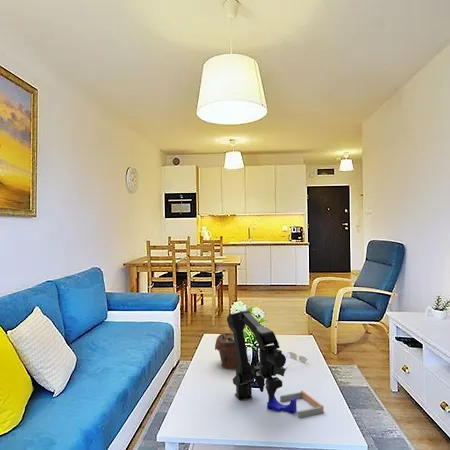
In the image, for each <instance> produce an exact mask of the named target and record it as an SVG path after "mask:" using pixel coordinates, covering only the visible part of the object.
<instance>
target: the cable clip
mask: <svg viewBox="0 0 450 450" xmlns="http://www.w3.org/2000/svg"><path fill="white" fill-rule="evenodd" d="M266 409H267V410H268V411H269V410H270V411H274V412H278V413H280V412H285V413H286V412H287V413H290V414H296V412H298V411H297V399H296V397H293V398H292V399H291V400H290V403H289V404H282V402H281V403H280V401H278V400H277V397H276V396H275V395H274V398H273V400H272V401H270V399H269V396H268V400H267V402H266Z"/></svg>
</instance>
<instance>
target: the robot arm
mask: <svg viewBox="0 0 450 450" xmlns="http://www.w3.org/2000/svg"><path fill="white" fill-rule="evenodd" d="M226 322H227V324H228V328H229V330H230V331H232V334H233V335H234V341H235V347H236V353H237V359H238V365H237V368H236V369H235V376H234V377H233V378H232V383H233V385H234V386H235V391H236V392H235V393H234V395H235V397H236V398H237V399H238V400H239V401H243V400H248V399H252V398H253V394H252V393H253V389H252V384H254V382H255V383H256V384H257V387H258V389H259V392H260V393H263V392H264V388H265V389H266V391H267V395H268V396H269V399H270V401H272V400H273V398H274V395H275V394H276V392H277V390H278V389H280V388H282V387H283V381H282V380H281V379H280V378H279V377H277V376H281V377H284V376H285V373H286V370H287V369H285V368H286V367H284V366H285V365H286V363H287V358H286V355H285V354H284V353H283V351H282V350H281V349H280V347H281V346H280V345H279V341H278V339H277V336H276V334H275V332H274V331H273V330H271V328H268V327H266V326H263V325H262V324H261V323H260V322H259V321H258V320H257V319H256V318H255V316H254V315H252V313H251V312H250V310H247V309H246V310H239V312H233V313H229V314H228V315H227V317H226ZM246 326H247V328H249V330H250V331H251V332H252V333H253V334H254V340H255V341H256V342H257V344H258V345H256V348H257V349H259V360H258V361H257V365H256V366H255V365H251V363H250V362H249V358H248V352H247V351H248V350H247V351H246V345H245V339H244V336H245V335H244V330H245V327H246Z"/></svg>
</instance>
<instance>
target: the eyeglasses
mask: <svg viewBox="0 0 450 450" xmlns="http://www.w3.org/2000/svg"><path fill="white" fill-rule="evenodd" d="M286 354H289V357H290V358H291V359H294V360H297V357H298V360H299V361H297V362H296V363H304V364H306V363H307V361H308V358H307V357H305V356H303V355H298V354H296V353H295V352H293V351H288V352H286ZM293 364H295V362H293V363H290V364H289V365H288V366H286V367H284V368H285V369H286V370H287V369H288V368H289V367H290V366H291V365H293Z"/></svg>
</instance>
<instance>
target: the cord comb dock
mask: <svg viewBox="0 0 450 450" xmlns="http://www.w3.org/2000/svg"><path fill="white" fill-rule="evenodd" d="M293 397H296V400H298V399H304V401H306V402H307V403H308V404H310V405H311V406H312V407H311V408H307V409H303V410H302V409H301V410H298V411H297V418H299V419H301V418H306V417H311V416H315V415H319V414H323V413H324V412H325V409H324V404H321V403H320V402H319V401H318V400H317V399H315V398H314V397H313V396H311V395H310V394H308V393H307V392H306V391H305V390H303V389H302V390H300V391H298V392H293V393H288V394H282V395H280V396H279V399H280V401H279V402H281V403H282V402H287V401H291V399H292V398H293Z"/></svg>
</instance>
